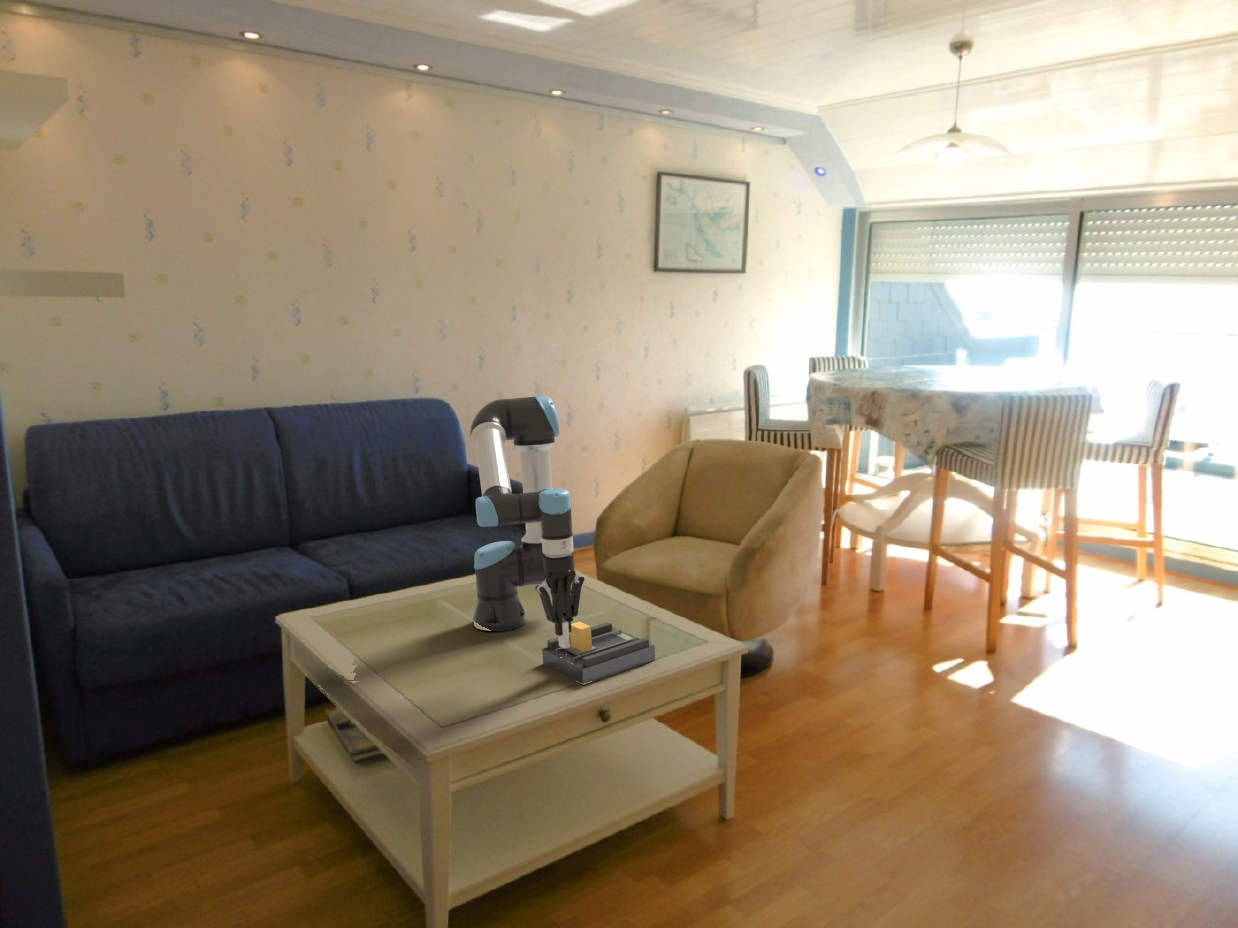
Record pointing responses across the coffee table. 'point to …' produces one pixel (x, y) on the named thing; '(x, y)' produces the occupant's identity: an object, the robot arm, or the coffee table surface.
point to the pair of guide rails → (607, 653)
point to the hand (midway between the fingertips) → (564, 646)
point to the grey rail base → (577, 672)
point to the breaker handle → (580, 639)
